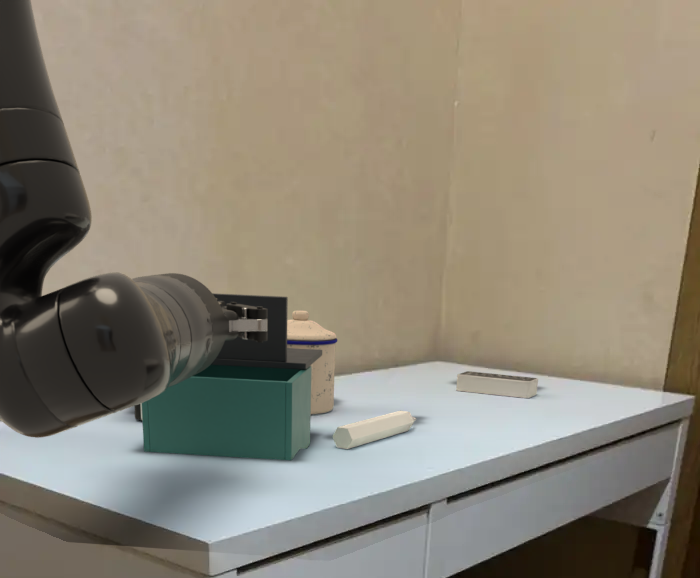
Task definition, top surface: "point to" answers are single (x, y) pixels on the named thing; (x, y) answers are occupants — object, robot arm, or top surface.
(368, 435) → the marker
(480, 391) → the multiport hub
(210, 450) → the storage box
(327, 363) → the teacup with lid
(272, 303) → the box lid
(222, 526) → the top surface
